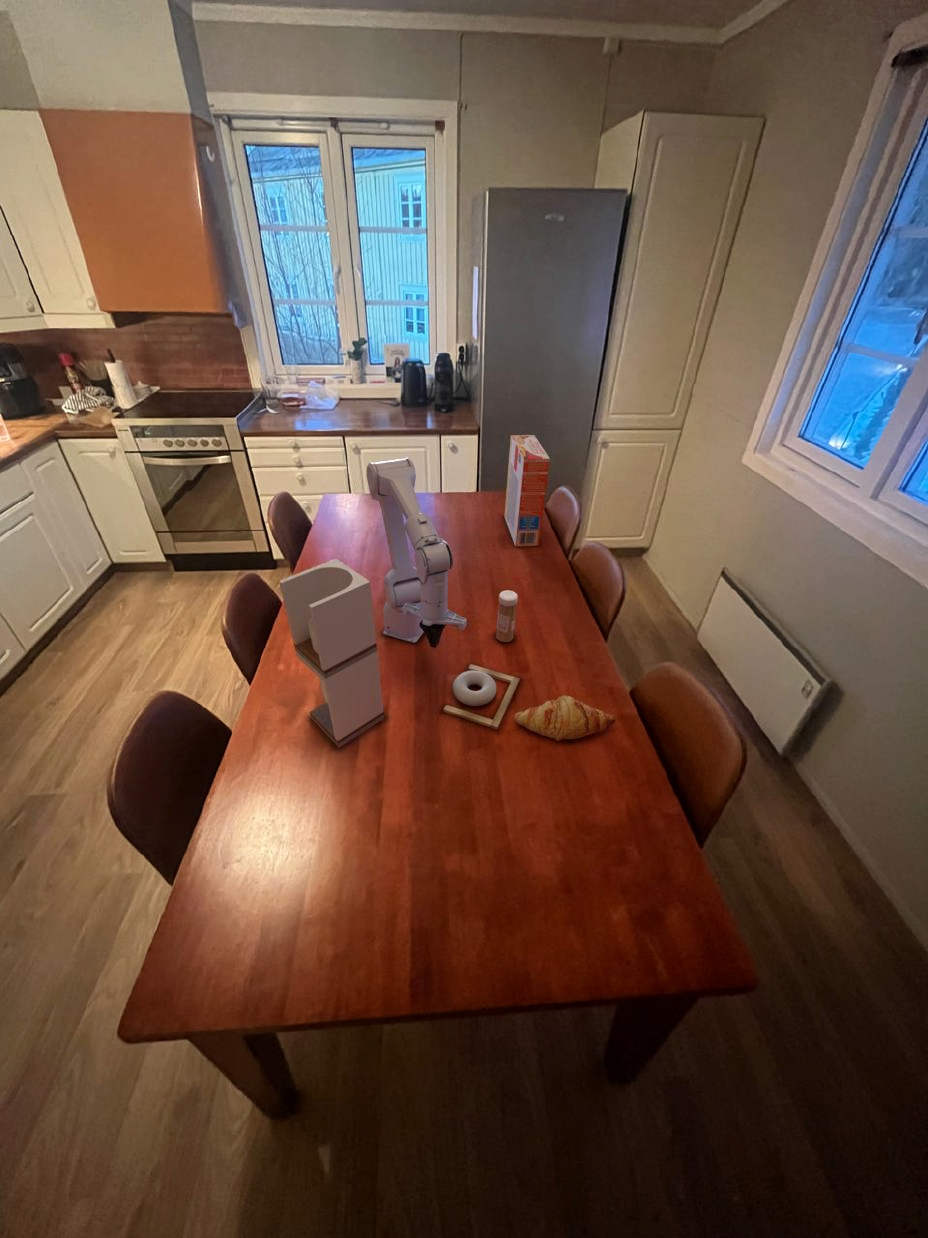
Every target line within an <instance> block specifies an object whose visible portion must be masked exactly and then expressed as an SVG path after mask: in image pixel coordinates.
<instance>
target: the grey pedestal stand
mask: <svg viewBox="0 0 928 1238" xmlns="http://www.w3.org/2000/svg"><path fill="white" fill-rule="evenodd" d="M278 582H279V587H280V592H281V597H282V600H283V605H284V608H285V613H286V615H287V616H286V617H287V621H288V625H289V630H290V634H291V638H292V643H293V646H294V647H293V648H294V651H295V656H296V658H298V659H299V660H300V661H301V662H302V663H303V664H304V665H305V666H306V667H307V668H308V669H309V670H311V672H313V673H314V674H315V675H316V677H318V679H319V683H320V688H321V694H322V697H323V699H324V701H325V702H324V703H322V704H320V705H319V706H317V707H316V708H314V709H312V710H309V716H310V719H311V720H312V721H313V722H314V723H315V725H317V726H318V728H319V729H320V730H321V731H323V733H324V734H325V735H326V736H327V737H328V738H329V739H330V740H331V741H332V742H333V743H334V744H335V746H336V747H338V748H341V747H343V746H344V745H345V744H347V743H348V742H350V741H352V740H353V739H355V738H356V737H358V736H359V735H361V734H362V733H364V732H365V731H367V730H369V729H370V728H372V727H373V726H375V725H376V724H378V723H379V722H381V721H383V720H384V719H385V713H384V711H385V710H384V703H383V693H382V684H381V673H380V663H379V654H378V644H377V635H376V624H375V614H374V605H373V597H372V596H373V595H372V587H371V581H370V580H369V579H367V578H365V577H364V576H363V575H361V574H360V573H359V572H357V571H356V570H354V569H353V568H351V567H350V566H348V565H347V564H345V563H343V562H342V561H341V560H339V559H338V558H333V559H331V560H328V561H326V562H323V563H321V564H318V565H315V566H313V567H311V568H308V569H306V570H303V571H301V572H298V573H295V574H293V575H290V576H287V577H285V578H283V579H280V580H278Z"/></svg>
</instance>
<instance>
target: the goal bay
mask: <svg viewBox="0 0 928 1238" xmlns="http://www.w3.org/2000/svg"><path fill="white" fill-rule="evenodd" d="M467 669H468V670H467V671H481V672H484V673H486V674H488V675H489V676H491V677H492V679H497V680H500V681H503V682H507V683H509V686H508V688H507V690H506V693H504V696H503V698H502V700H501V703H500V705H499V706H498V709H497V710H496V713H495V715H494V717H493V719H491V718H488V717H485V716H482V715H480V714H476V713H473V712H470V711H467V710H464V709H461V708H457V707H454V706H451V705H448V704H446V705H444V708H443V711H442V712H444V713H447V714H450V715H452V716H456V717H458V718H462V719H465V720H466V721H471V722H474V723H477V724H480V725H483V726H486V727H489V728H492V729H495V730H498V728H499V726H500V724H501V722H502V720H503V718H504V715H505V713H506V711H507V709H508V708H509V705H510V703H511V700H512V699H513V696H514V694H515V692H516V690H517V688H518V686H519V684H520V680H521V679H520V678H519V677H516V676H512V675H509V674H506V673H502V672H500V671H495V670H493V669H489V668H486V667H482V666H478V665H475V664H472V663H470V664H469V666H468V667H467Z"/></svg>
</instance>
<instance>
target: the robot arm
mask: <svg viewBox="0 0 928 1238" xmlns="http://www.w3.org/2000/svg"><path fill="white" fill-rule="evenodd" d="M416 475H417V473H416V468H415V464H414V463H413V461H412V460H411V459H410V457H404V458H398V459H390V460H385V461H378V462H368V464H367V466H366V480H367V487H368V490H369V494H370V496H371V500H374V501H376V502H378V503H379V507H380V511H381V514H382V520H383V525H384V531H385V535H386V541H387V546H388V550H389V557H390V563H391V566H392V568H391V569H390V571H389V572H388V573H387V574H386V575H385V576H384V577H383V586H384V588H383V592H384V598H385V600H386V601H385V602H384V605H383V610H382V619H383V629H384V630H383V632H382V634H383V635H385V636H389V637H392V638H395V639H399V640H401V641H405V642H409V643H412V644H416V643H417V642H418V640H420V638H421V636H422V635H423V634H424V635H425V637H426V638H427V641H428V644H429V647H430V648H432V649H437V647H438V645H439V644H440V640H441V636H442V634H443V632H444V630H445V627H446V626H447V625H449V626H452V627H455V628H458V630H459V631H462V632H463V631H465V629H466V627H467V622H468V620H467V618H465V617H463V616H461V615H459V614H457V613H455V612H454V611H452V610H450V609H449V608H448V602H449V601H448V599H449V598H448V597H449V596H448V595H449V594H448V592H449V590H448V589H449V584H448V582H449V570H452V569H453V567H454V555H453V552H452V549H451V547H450V544H449V543H448V542H447V541H446V540H444V538H443V537H440V536H439V534H438V531H437V530H436V527H435V525H434V523H433V521H432V519H431V517H430V515H428V514H427V513H423V511H422V508H421V506H420V503H419V499H418V497H417V494H416V491H415V486H416V478H417V476H416ZM404 518H405V519H406V521H405V519H404ZM408 539H409V540H408ZM409 541H410V543H411V546H412V548H413V550H414V562H415V566H416V567H415V566H413V563H412V558H411V552H410V546H409Z"/></svg>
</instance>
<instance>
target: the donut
mask: <svg viewBox="0 0 928 1238" xmlns="http://www.w3.org/2000/svg"><path fill="white" fill-rule="evenodd" d="M470 686H478V687H479V688H480V689H479V690H471V689H469V687H470ZM452 692H453V695H454V697H455V698H456V699H457V700H458V701H459V702H460V703H461V704H463V705H467V706H469V707H480V706H485V705H487V704H489V703H490V702H491V701H492V700H493V699H494V698H495V696H496V694H497V684H496V681H495V680H494V678H493V677H491V676H489V675H488V674H486V673H484V672H481V671H469V670H466V671H463V672H462V673H460V674H458V676H456V677H455V680H454V681H453V683H452Z"/></svg>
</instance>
